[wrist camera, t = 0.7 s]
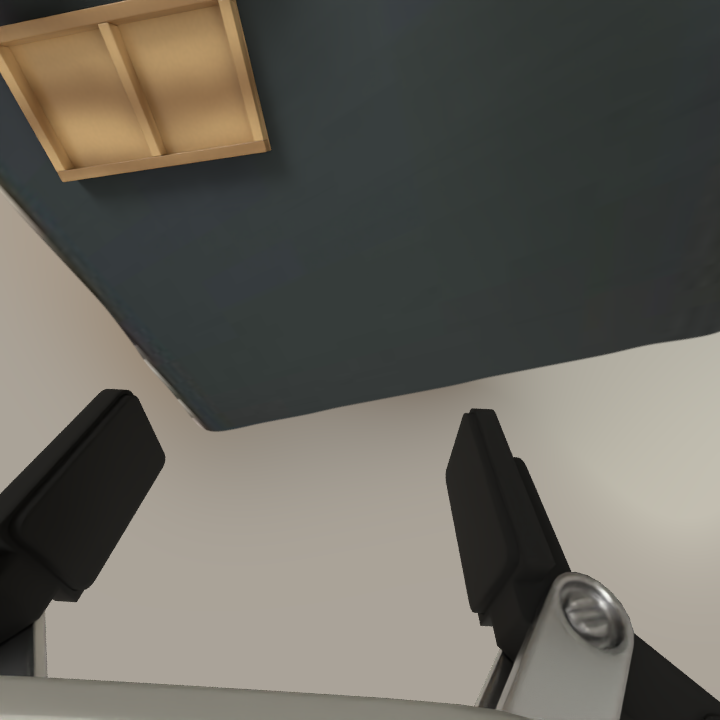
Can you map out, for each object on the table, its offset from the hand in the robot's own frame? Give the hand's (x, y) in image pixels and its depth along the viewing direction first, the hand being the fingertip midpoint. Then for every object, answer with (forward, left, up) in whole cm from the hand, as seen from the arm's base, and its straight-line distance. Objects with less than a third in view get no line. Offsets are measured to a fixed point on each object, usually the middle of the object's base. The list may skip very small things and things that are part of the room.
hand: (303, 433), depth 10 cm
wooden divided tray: (-11, -15, -27) cm, 33 cm away
